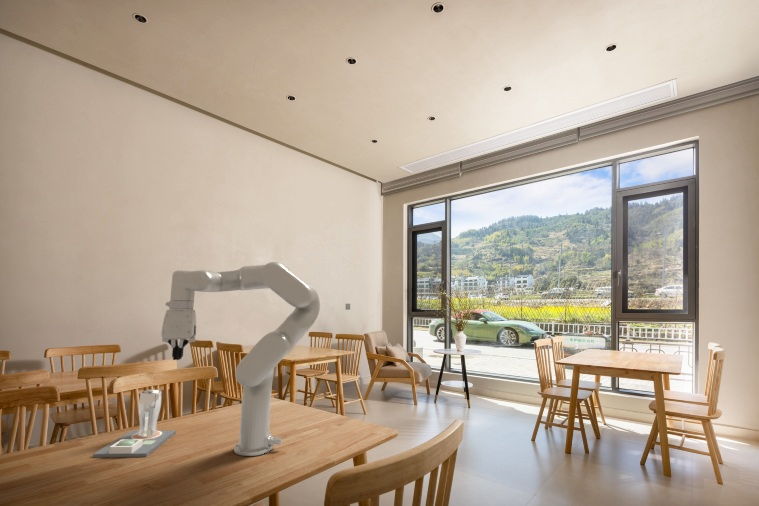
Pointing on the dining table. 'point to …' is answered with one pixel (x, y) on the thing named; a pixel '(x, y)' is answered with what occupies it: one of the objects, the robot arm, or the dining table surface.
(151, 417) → the beer glass
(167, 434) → the picture board
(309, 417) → the dining table surface
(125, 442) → the button
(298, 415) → the dining table surface
